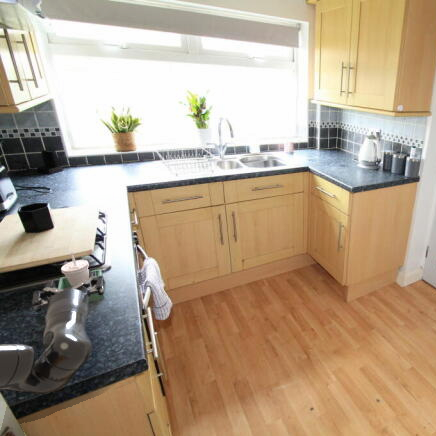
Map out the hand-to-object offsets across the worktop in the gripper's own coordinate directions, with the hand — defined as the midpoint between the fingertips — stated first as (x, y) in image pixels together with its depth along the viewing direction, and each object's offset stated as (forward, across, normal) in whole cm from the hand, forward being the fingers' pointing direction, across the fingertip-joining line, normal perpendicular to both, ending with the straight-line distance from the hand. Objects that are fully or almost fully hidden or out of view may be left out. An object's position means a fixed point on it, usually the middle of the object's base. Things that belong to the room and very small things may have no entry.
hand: (72, 278), depth 86 cm
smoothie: (+7, 0, +10) cm, 12 cm away
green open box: (+7, 0, +10) cm, 13 cm away
